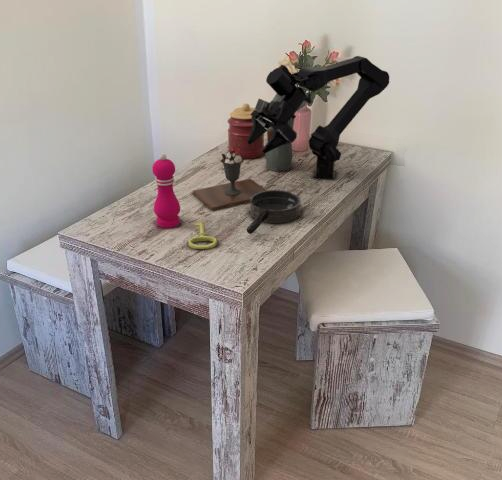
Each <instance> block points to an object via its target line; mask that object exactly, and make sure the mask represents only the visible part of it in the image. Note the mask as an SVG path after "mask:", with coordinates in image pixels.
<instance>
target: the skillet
mask: <svg viewBox="0 0 502 480" xmlns="http://www.w3.org/2000/svg"><path fill="white" fill-rule="evenodd" d="M301 202H302V200H301V198H300V197H299V196H298V195H297V194H295V193H293V192H290V191H287V190H278V189H272V190H270V189H269V190H267V191H262V192H259V193H256V194H255V195H253V196H252V197H251V199H250V202H249V213H250V216H251V217H252V218H253V219H254V220H255V219H256V218H257V217H258V216H259V215H260V214H261V213H262V212H263V211H267V212H268V217H267V218H266V219H265V220H264V221H263V223H267V224H268V223H269V224H284V223H288V222H289V223H290V222H292V221H294V220H296V219H297V218H298V217H299V216H300V214H301V204H302V203H301Z"/></svg>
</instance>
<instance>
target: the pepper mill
mask: <svg viewBox="0 0 502 480" xmlns="http://www.w3.org/2000/svg"><path fill="white" fill-rule="evenodd" d="M158 158H159V159H157V160H155V161H154V163H153V164H152V168H151V171H152V174H153V175H154V181H155V184H156V186H157V196H156V198H155V200H154V204H153V213H154V214H155V216H157V217H156V225H157V227H159V228H163V229H171V228H172V229H173V228H175V227H177V226H178V225H179V224H180V216H179V214H180V212H181V204H180V202H179V199H178V198H177V196H176V194H175V190H174V185H173V184H175V176H174V175H175V173H176V166H175V163H174V162H173V161H172V160H170V159H169V158H167V155H166V154H165V153H160V154H159V157H158Z"/></svg>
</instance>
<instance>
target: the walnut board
mask: <svg viewBox="0 0 502 480" xmlns="http://www.w3.org/2000/svg"><path fill="white" fill-rule="evenodd" d="M230 186H231V182H228V183H223V184H219V185H214V186H213V185H212V186H209V187H208V186H207V187H203V188H198V189H193V190H192V194H193V195H194V197H196V198H197V199H198V200H200V202H202V203H203V204H204V205H206V207H207V208H209V209H210V210H211V211H217V210H221V209H225V208H231V207H235V206H238V205H239V206H240V205H243V204H248V203H250V199H251V197H252V196H253V195H255V194H256V193H259V192H262V191H268V189H266V188H264V187H262V186H261V185H260V184H258V183H257V182H255V181H254V180H252V179H251V178H247V179H243V180H236V181H235V189H238V190H240V191H241V193H240V194H238V195H227V194H225V190H227V189H230Z"/></svg>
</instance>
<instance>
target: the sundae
mask: <svg viewBox="0 0 502 480" xmlns="http://www.w3.org/2000/svg"><path fill="white" fill-rule="evenodd" d="M237 145H238V146H239V145H240V144H237ZM236 147H237V146H236ZM236 147H235V148H236ZM235 148H234V149H232V150H231V151H227V152H226V154H225V153H221V156H222V159H220V163H222V165H223V169H224V175H225V179H226V180H227V181H229V183H231V186H230V189H227V190H225V194H227V195H238V194H240V193H241V191H240V190H238V189H235V182H237V181H238V179H239V178H240V173H241V168H242V167H241V166H242V164H243V163H244V159H242V158H241V156H240V155H239V152H238V151H236V152H235ZM237 148H238V147H237Z"/></svg>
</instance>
